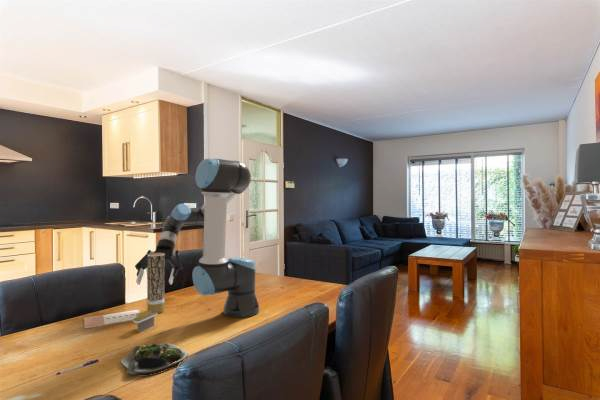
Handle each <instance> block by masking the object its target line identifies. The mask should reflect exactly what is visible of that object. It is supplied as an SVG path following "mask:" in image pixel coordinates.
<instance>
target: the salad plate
mask: <svg viewBox="0 0 600 400" xmlns="http://www.w3.org/2000/svg"><path fill="white" fill-rule="evenodd" d="M186 357H187V358H188V351H186V350H185V349H182V348H181V347H179V346H177V345H175V344H173V343H160V344H157V343H151V344H148V345H145V344H143V345H142V346H141V347H140V346H139V345H136V346H134V347H133V349H132V352H130V353H128V354H126V355H125V356H123V358H121V364H122V365H123V366H124V367H125V368H126V372H127V374H128V375H135V376H138V375H149V376H151V375H150V374H154V373H158V372H161V371H164V370H166V369H169V368H172V367H174V368H176V367H178V366H177V365H178V364H179V363H180V362H182V361H183V360H184V359H185V358H186ZM187 358H186V359H187ZM175 361H176V362H175ZM173 362H175V363H173ZM172 363H173V364H172ZM175 366H176V367H175ZM172 369H173V368H172ZM169 370H170V369H169ZM166 371H167V370H166ZM164 372H165V371H164ZM161 373H162V372H161ZM158 374H159V373H158ZM154 375H155V374H154Z"/></svg>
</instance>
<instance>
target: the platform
mask: <svg viewBox="0 0 600 400" xmlns="http://www.w3.org/2000/svg"><path fill="white" fill-rule="evenodd" d="M158 315H159V313H151V311H149V312H148V310H145V311H142V312H140V315H139V314H137V315H136V318H134V319H133V320H132V322H133V323H135V324H137V326H136V327H137V330H136V331H137V333H138V334H140V333H143V332H144V331H146V330H147V329H150V328H151V327H154V326H155V317H156V316H158Z"/></svg>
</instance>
